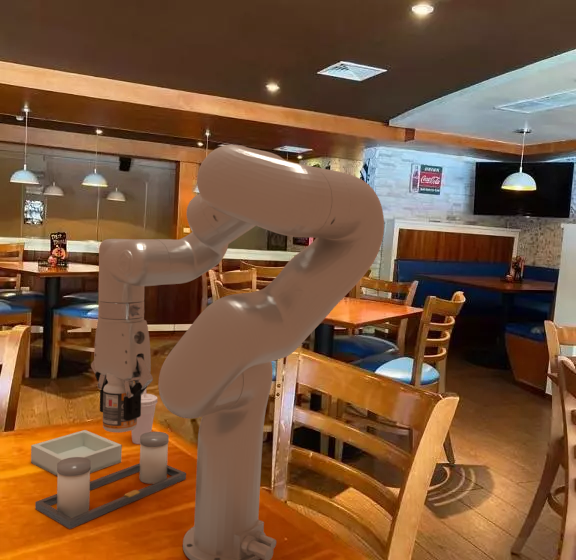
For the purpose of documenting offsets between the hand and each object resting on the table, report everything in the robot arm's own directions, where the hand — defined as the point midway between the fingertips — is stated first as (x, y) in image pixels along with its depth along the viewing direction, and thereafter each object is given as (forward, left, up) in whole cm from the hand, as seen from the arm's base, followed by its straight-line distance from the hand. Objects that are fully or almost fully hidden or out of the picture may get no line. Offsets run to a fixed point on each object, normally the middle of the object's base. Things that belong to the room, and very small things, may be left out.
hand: (120, 413), depth 102 cm
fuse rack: (+1, 0, -15) cm, 15 cm away
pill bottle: (0, 0, -3) cm, 3 cm away
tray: (+17, -3, -15) cm, 22 cm away
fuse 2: (+1, -8, -15) cm, 17 cm away
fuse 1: (+1, +9, -15) cm, 17 cm away
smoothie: (+17, -19, -15) cm, 29 cm away
